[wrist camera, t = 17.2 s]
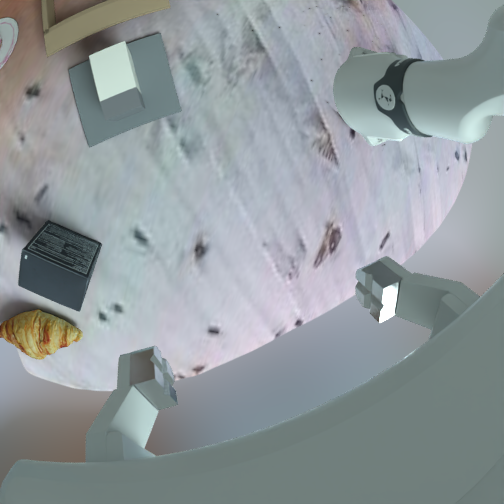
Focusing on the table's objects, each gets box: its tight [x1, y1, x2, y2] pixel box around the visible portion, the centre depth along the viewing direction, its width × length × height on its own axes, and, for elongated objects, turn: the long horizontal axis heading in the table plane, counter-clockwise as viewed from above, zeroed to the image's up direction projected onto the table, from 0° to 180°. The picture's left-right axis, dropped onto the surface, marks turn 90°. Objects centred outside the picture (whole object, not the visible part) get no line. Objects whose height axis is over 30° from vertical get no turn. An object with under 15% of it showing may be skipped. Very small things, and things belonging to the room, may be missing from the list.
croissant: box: [0, 309, 83, 359], centre depth 37 cm, size 21×10×8 cm
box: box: [89, 41, 146, 122], centre depth 26 cm, size 4×9×7 cm, turn 14°
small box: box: [18, 221, 102, 311], centre depth 32 cm, size 11×6×10 cm, turn 58°
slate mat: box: [69, 33, 181, 147], centre depth 29 cm, size 14×13×1 cm
